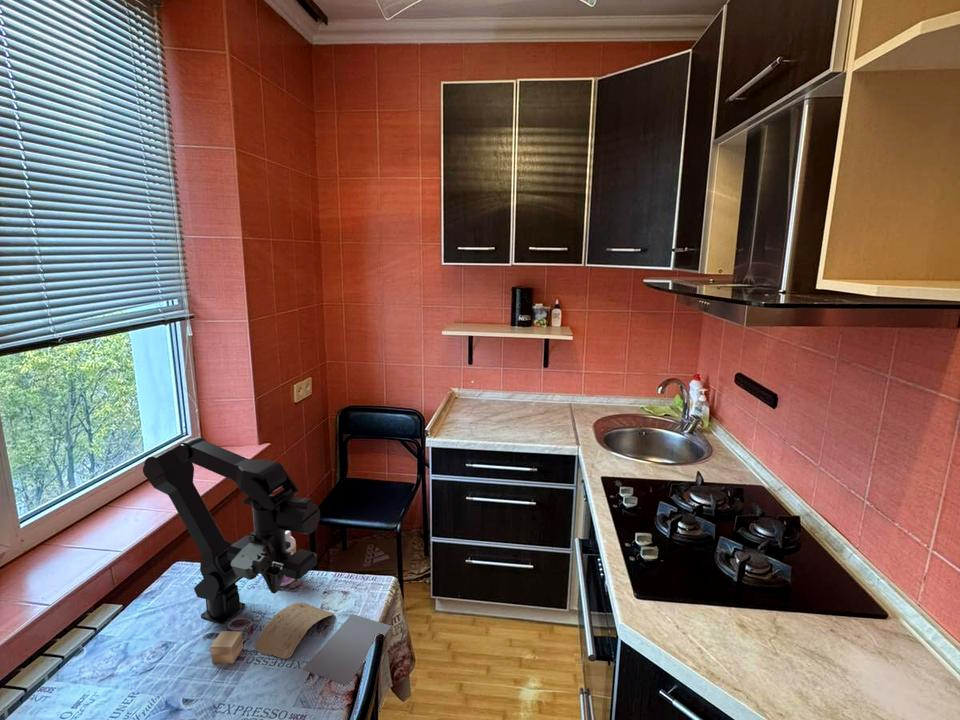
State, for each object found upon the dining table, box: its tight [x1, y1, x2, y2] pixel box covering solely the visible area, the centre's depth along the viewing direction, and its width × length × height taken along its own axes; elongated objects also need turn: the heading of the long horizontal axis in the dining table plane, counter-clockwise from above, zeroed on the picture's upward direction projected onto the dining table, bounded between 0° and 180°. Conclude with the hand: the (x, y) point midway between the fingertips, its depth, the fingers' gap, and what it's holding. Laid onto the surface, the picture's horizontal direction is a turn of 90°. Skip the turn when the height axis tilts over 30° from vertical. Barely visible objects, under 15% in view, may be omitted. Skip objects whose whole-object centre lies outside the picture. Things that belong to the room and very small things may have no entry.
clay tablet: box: [253, 602, 335, 659], centre depth 103 cm, size 14×10×3 cm
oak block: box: [210, 630, 244, 664], centre depth 96 cm, size 4×4×4 cm
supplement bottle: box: [280, 531, 297, 587], centre depth 119 cm, size 7×7×13 cm
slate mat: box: [302, 613, 393, 686], centre depth 99 cm, size 10×16×1 cm, turn 160°
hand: (274, 592), depth 103 cm, fingers closed
